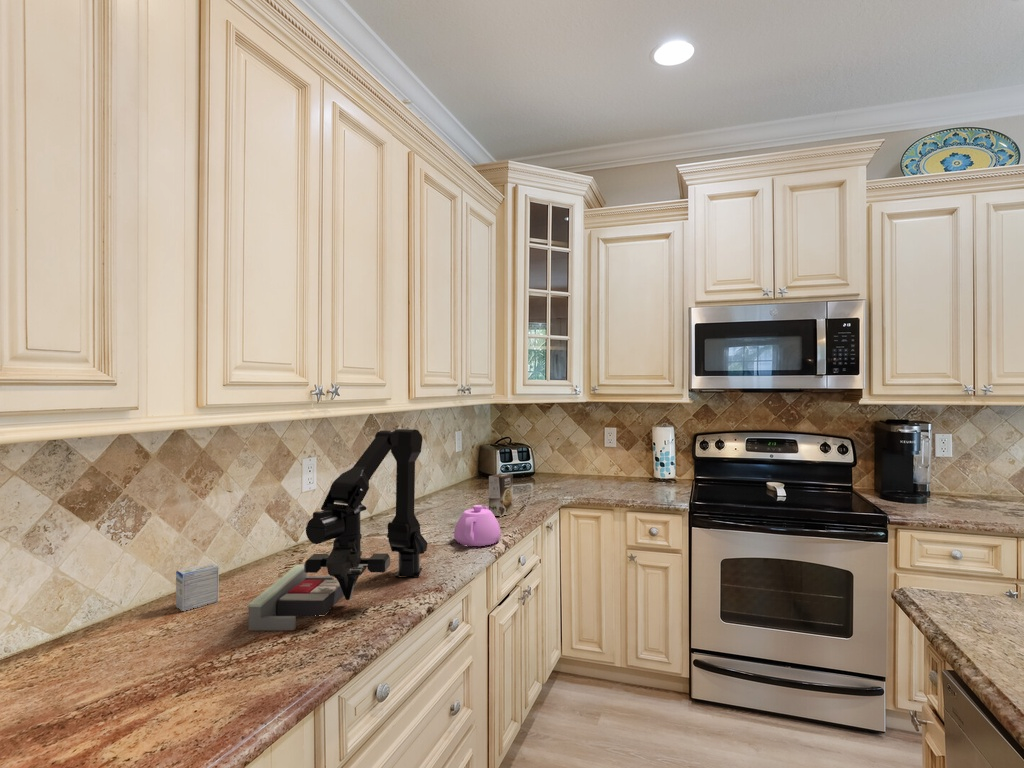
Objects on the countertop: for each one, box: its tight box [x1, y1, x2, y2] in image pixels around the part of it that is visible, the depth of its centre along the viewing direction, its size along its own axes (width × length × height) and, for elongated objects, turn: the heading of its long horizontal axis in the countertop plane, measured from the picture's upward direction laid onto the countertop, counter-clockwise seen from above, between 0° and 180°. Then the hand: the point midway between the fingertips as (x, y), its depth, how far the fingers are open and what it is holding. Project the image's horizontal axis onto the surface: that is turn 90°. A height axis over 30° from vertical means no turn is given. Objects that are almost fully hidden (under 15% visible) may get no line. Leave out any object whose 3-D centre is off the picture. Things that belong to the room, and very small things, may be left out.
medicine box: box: [175, 562, 220, 612], centre depth 129 cm, size 8×4×9 cm, turn 141°
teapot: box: [453, 504, 502, 547], centre depth 182 cm, size 22×16×12 cm
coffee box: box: [488, 473, 514, 516], centre depth 221 cm, size 9×6×16 cm
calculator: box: [276, 579, 344, 617], centre depth 130 cm, size 11×4×15 cm
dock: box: [247, 564, 335, 631], centre depth 128 cm, size 26×10×6 cm, turn 0°
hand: (348, 599), depth 128 cm, fingers closed
